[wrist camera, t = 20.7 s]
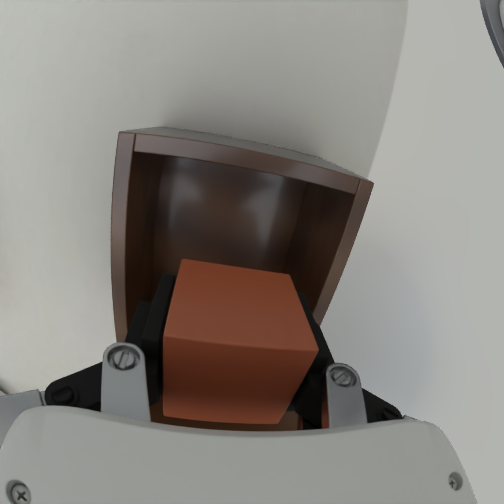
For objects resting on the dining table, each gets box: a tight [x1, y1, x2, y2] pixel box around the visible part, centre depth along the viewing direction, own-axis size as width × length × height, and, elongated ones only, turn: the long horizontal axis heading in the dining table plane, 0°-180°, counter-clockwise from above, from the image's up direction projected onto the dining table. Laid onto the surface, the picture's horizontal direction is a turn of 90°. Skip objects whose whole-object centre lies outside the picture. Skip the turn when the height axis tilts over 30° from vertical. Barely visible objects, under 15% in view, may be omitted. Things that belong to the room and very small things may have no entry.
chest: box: [111, 127, 374, 343], centre depth 19 cm, size 16×13×9 cm
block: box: [163, 259, 319, 424], centre depth 10 cm, size 4×4×4 cm
